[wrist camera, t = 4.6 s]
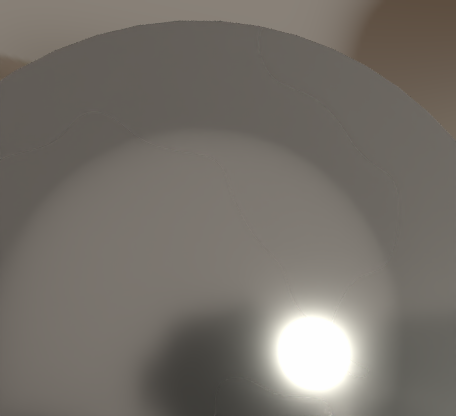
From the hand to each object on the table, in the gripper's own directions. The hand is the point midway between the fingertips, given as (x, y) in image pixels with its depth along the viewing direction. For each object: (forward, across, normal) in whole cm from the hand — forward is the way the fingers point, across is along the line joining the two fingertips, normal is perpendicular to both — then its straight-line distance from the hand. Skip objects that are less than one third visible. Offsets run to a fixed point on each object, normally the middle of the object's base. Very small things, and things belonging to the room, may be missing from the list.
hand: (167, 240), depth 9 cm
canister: (+4, 0, +6) cm, 7 cm away
